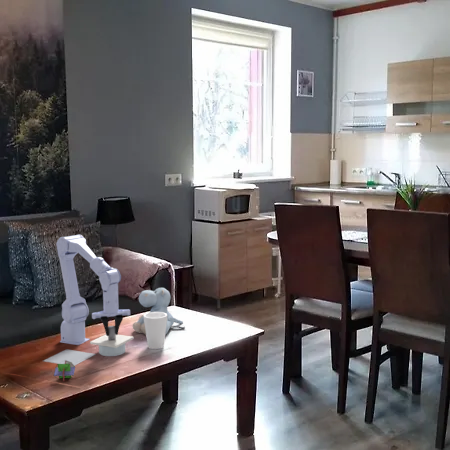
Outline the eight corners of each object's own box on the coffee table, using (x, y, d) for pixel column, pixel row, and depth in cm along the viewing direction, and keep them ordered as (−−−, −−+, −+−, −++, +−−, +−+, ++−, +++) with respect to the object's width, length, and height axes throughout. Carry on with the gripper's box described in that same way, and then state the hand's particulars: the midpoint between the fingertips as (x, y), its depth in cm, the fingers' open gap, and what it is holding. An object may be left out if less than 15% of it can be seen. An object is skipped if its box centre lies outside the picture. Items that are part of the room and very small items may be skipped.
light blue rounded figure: (131, 326, 271) (130, 285, 269) (182, 323, 275) (182, 283, 273) (133, 338, 253) (132, 295, 251) (187, 335, 257) (187, 293, 255)
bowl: (94, 354, 234) (93, 344, 233) (109, 346, 243) (108, 337, 242) (115, 358, 230) (115, 348, 229) (130, 350, 239) (130, 340, 238)
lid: (90, 343, 233) (89, 329, 232) (108, 335, 243) (107, 321, 243) (116, 347, 228) (115, 332, 227) (133, 338, 239) (133, 324, 238)
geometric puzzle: (72, 379, 203) (73, 356, 207) (51, 380, 203) (53, 357, 207) (75, 385, 210) (77, 362, 214) (55, 386, 209) (57, 363, 213)
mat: (42, 361, 226) (42, 360, 226) (66, 350, 239) (66, 349, 239) (73, 367, 221) (73, 366, 221) (96, 355, 233) (96, 354, 233)
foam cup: (163, 351, 238) (162, 319, 236) (141, 349, 240) (140, 317, 238) (170, 343, 247) (169, 312, 245) (148, 341, 249) (148, 311, 247)
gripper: (93, 304, 227) (94, 339, 229) (131, 301, 232) (132, 335, 234) (90, 300, 234) (91, 334, 236) (127, 297, 239) (128, 330, 241)
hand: (111, 334), depth 235 cm, fingers closed on lid, 3 cm apart
